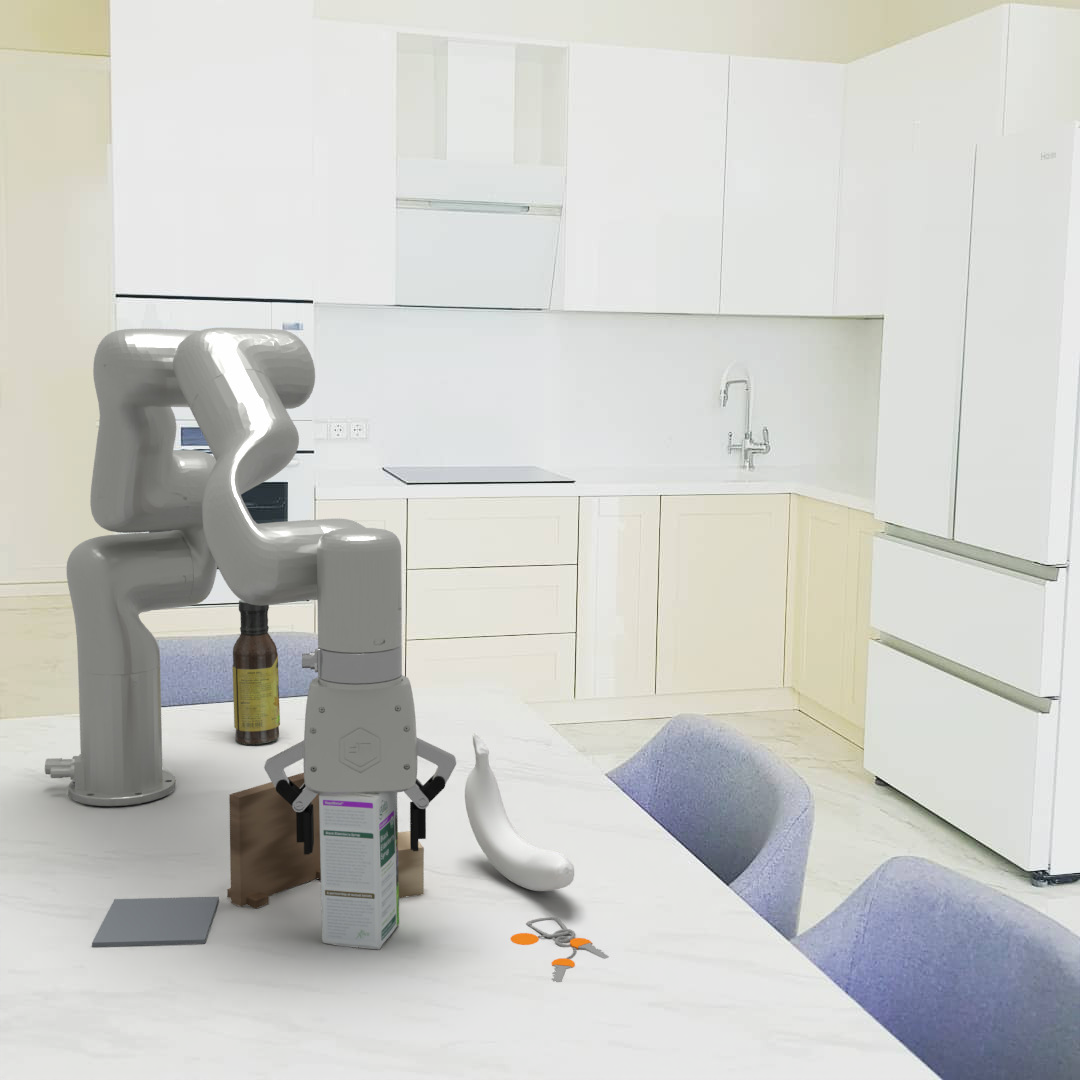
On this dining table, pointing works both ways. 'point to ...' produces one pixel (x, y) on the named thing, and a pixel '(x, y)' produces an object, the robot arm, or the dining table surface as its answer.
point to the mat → (157, 921)
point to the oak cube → (410, 867)
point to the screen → (268, 845)
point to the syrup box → (359, 868)
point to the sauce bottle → (255, 678)
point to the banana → (508, 833)
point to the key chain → (575, 944)
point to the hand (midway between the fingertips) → (361, 847)
